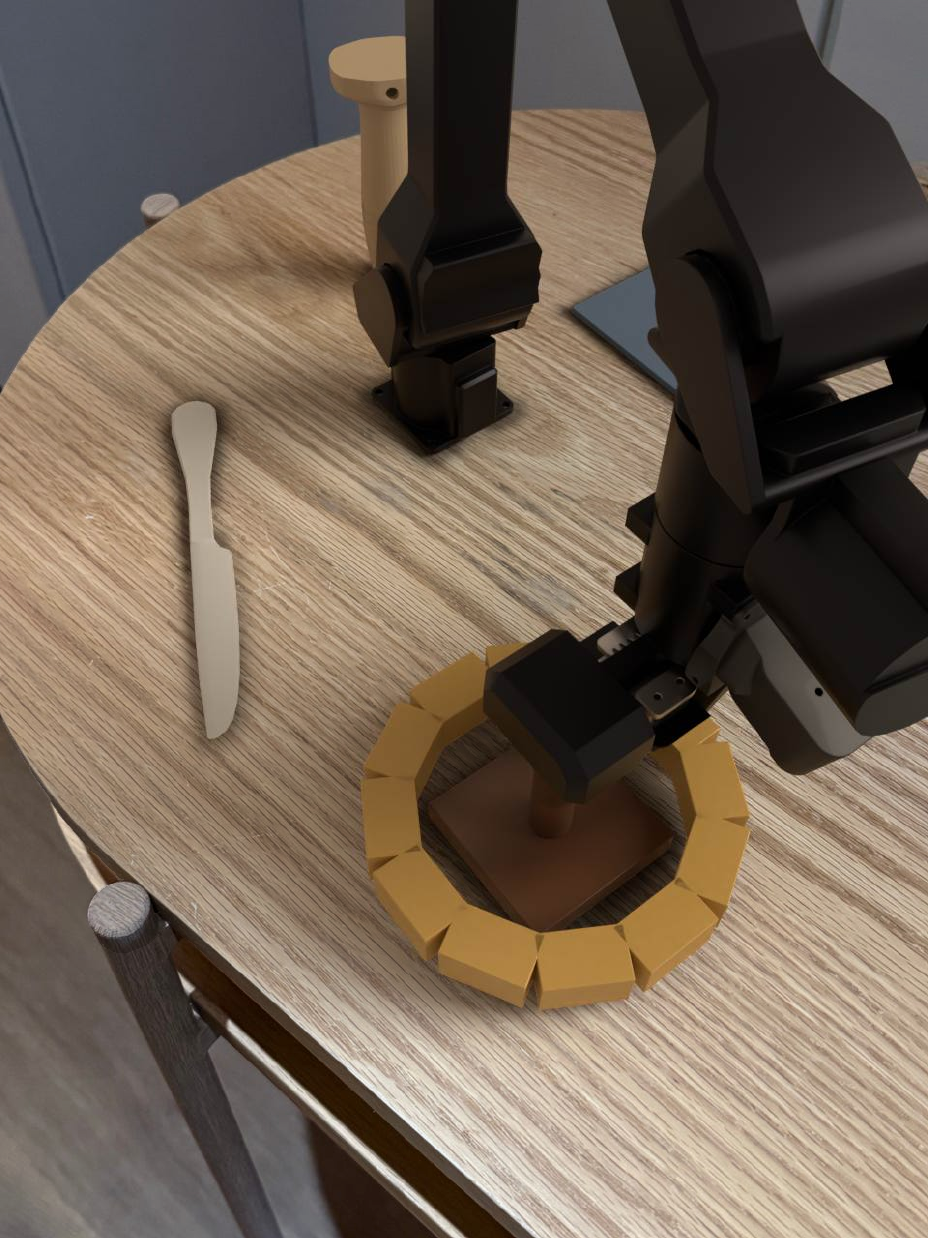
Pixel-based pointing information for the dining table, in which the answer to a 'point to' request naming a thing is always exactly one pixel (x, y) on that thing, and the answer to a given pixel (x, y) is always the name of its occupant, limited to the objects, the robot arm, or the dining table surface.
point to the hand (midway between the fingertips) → (669, 728)
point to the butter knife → (208, 570)
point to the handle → (376, 119)
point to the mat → (628, 323)
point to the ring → (509, 951)
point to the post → (546, 841)
